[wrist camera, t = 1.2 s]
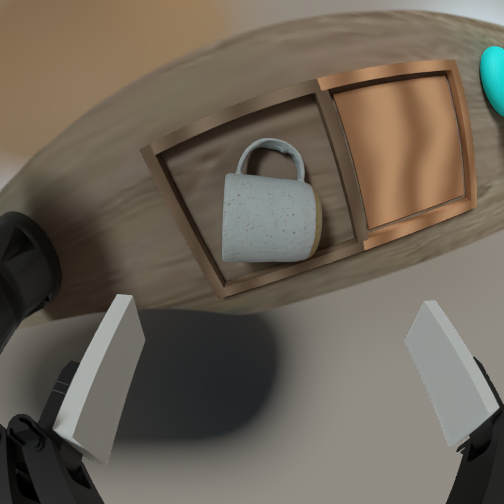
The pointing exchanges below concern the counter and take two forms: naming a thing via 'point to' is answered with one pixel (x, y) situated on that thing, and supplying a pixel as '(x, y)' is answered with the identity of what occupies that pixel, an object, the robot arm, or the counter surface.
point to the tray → (360, 159)
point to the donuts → (493, 77)
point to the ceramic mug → (270, 213)
